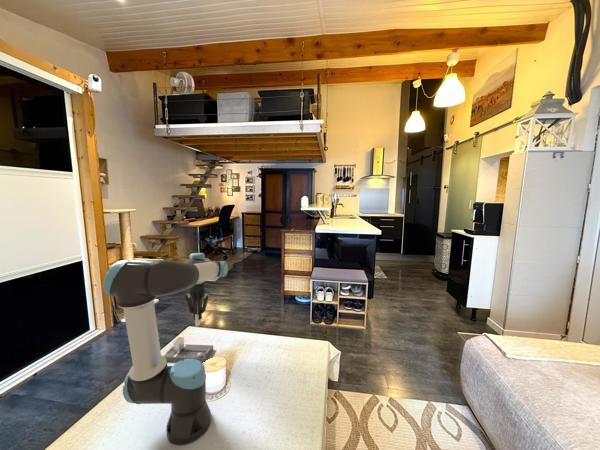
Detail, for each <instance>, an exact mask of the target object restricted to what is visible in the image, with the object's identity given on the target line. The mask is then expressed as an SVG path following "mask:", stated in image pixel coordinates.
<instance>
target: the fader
mask: <svg viewBox="0 0 600 450" xmlns="http://www.w3.org/2000/svg"><path fill="white" fill-rule="evenodd" d="M184 344H185V337H184V336H183V337H181V336H178V337H177V338H176V339H175V340H174V341H173V346H174V353H180V352H181V351H182V349H183V348H184Z"/></svg>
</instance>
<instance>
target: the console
mask: <svg viewBox="0 0 600 450" xmlns="http://www.w3.org/2000/svg"><path fill="white" fill-rule="evenodd" d="M213 351H214V344H213V345H212V344H211V345H209V344H186V343H184V348H183V349H182V351H181V352H180V353H174V345H173V346H171V347H170V348H169V349H168V350H167V351H166V353H165V354H164V355H163V356H164V357H165V358H166V360H167V363H170V362H171V363H177V362H178V361H181V360H182V361H184V359H196V360H199V361H200V362H202V364H204V363H203V362H204V361H205V360H206V361H207V359H208V358H209V357H210V355H211V353H213ZM206 361H205V362H206Z"/></svg>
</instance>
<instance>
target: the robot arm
mask: <svg viewBox="0 0 600 450" xmlns="http://www.w3.org/2000/svg"><path fill="white" fill-rule="evenodd" d="M205 256H206V255H205V253H203V252H194V253H191V254H189V259H188V260H187V261H183V262H182V261H176V260H170V259H169V260H168V259H135V258H131V259H122V260H118V261H116V262H114V263H113V264H112V265H111V266H110V267H109V269H108V270H107V272H106V274H105V276H104V279H103V284H102V287H103V290H104V293H105V294H106V295H107V296H109V297H114V298H115V302H116V306H117V307H118V308H120V309H123V315H124V319H125V320H124V321H125V327H126V331H127V338H128V344H129V345H128V346H129V349H130V355H131V356H130V357H131V360H132V361H131V362H132V366H131V367H130V369H129V371H128V372H127V374H126V376H125V378H124V381H123V383H124V385H123V386H122V395H123V398H124V400H125V401H126V402H127V403H129V404H136V405H143V404H145V405H146V404H147V405H149V404H152V405H153V404H155V405H157V404H158V405H160V404H161V405H163V404H164V405H165V404H167V405H168V404H169V405H170V407H171V409H170V411H171V412H170V413H169V417H168V421H167V424H166V428H165V430H166V434H165V435H166V439H167V440H168V441H169V443H171V444H172V445H173V444H174V445H178V446H181V445H183V446H184V445H188V444H191V443H193V442H195V441H197V440H198V439H200V438H201V437H202V436H204V434H205V433H206V432H207V431H208V429H209V428H210V425H211V423H212V413H211V409H210V407H209V404H208V402H207V400H206V399H207V397H206V396H207V395H206V394H207V393H206V391H207V390H206V389H207V387H206V385H207V384H206V379H207V374H206V367H205V365H204V363H202V362H200V361H199V360H196V359H184V361H182V360H181V361H178V362H174V364H173V365H168V362H167V360H166V358H165V357H164V355H162V352H161V345H160V336H159V330H158V322H157V316H156V307H155V300H156V299H157V298H158V297H165V296H169V295H174V294H178V293H179V292H183V291H186V290H189V292H188V293H187V294H185V295H184V298H185V300H186V302H187V307H188V309H189V310H188V311H189V313H190V314H192V315H193V320H195V321H194V322H195V323H194V324H195V327H197V328H198V327H200V325H201V320H202V319H203V318H202V317H203V316H202V315H203V314H204V313H205V312H206V309H207V306H208V302H209V298H210V297H211V294H208V293H206V282H205V281H207V280H210V279H213V278H221V277H222V278H224V277H226V276H227V275H228V269H229V266H228V263H227V261H225V260H224V261H223V260H220V261H219V260H216V261H215V260H206V257H205Z"/></svg>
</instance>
